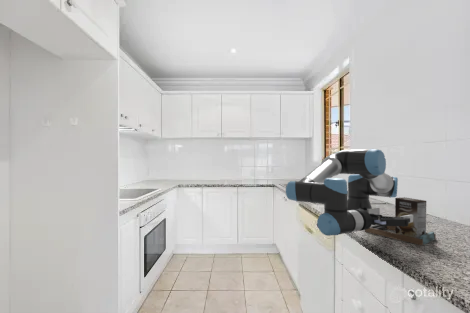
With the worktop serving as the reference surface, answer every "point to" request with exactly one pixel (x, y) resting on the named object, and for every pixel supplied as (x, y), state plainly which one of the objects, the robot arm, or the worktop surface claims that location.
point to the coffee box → (419, 216)
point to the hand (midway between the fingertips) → (394, 214)
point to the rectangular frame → (379, 231)
